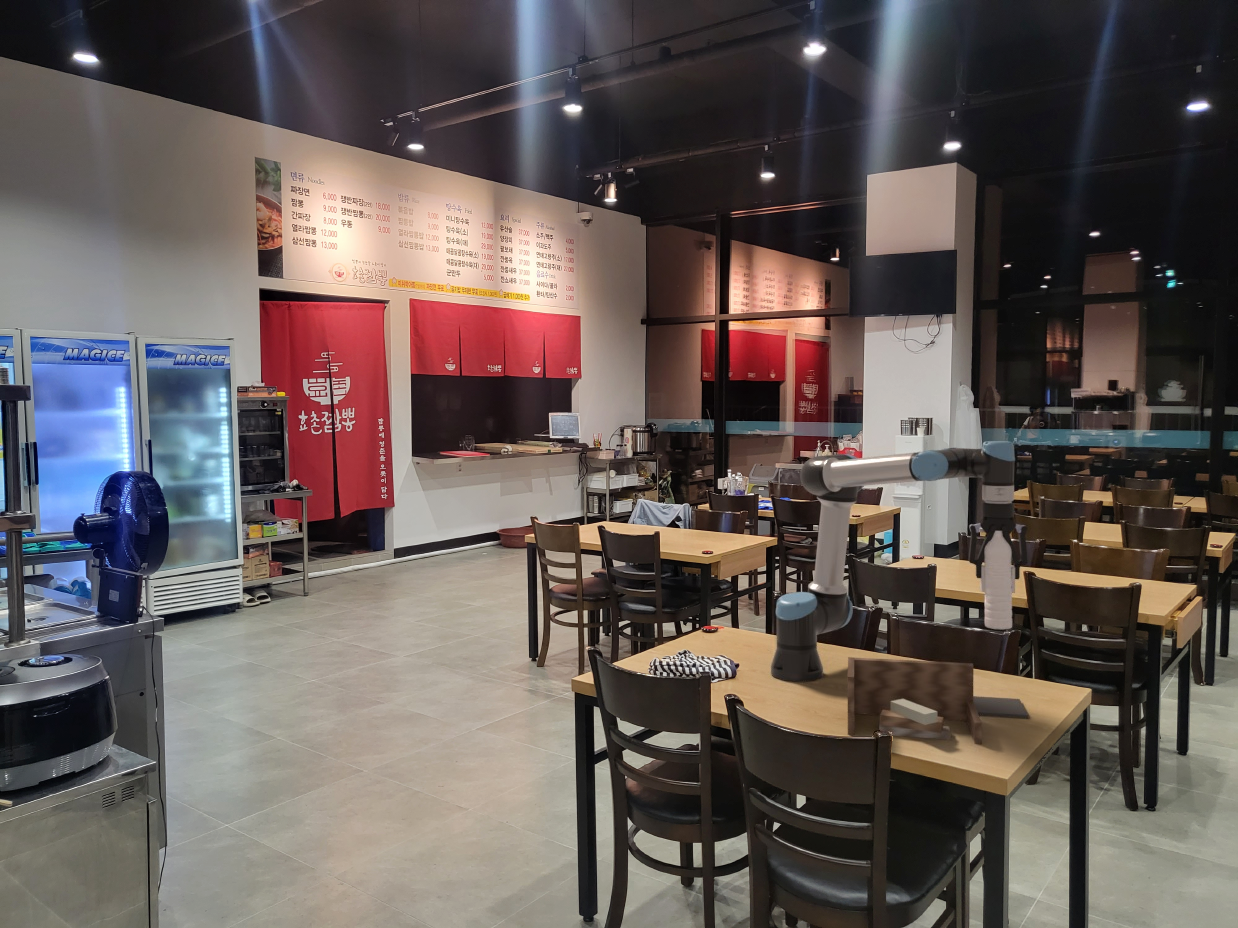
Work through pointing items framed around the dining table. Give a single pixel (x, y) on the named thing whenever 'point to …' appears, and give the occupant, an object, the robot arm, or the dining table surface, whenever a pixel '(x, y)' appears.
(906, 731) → the offcut bottom
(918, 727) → the offcut middle
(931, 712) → the offcut top
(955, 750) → the dining table surface
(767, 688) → the dining table surface
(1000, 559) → the water bottle
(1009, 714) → the rubber mat
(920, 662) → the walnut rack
